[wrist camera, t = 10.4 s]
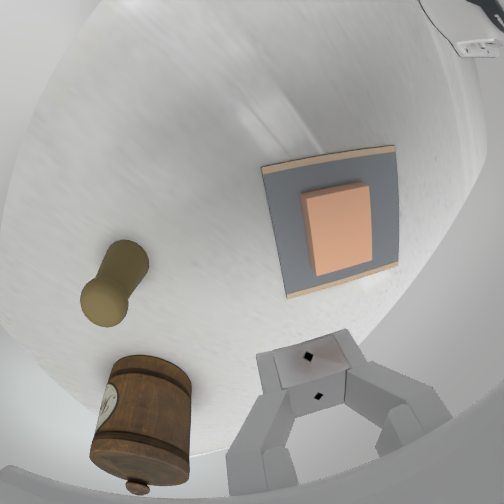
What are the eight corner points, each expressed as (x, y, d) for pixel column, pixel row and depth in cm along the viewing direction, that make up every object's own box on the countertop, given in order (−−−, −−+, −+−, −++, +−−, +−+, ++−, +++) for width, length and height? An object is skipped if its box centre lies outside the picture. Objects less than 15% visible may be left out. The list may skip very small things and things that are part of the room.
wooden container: (102, 350, 39) (66, 465, 19) (188, 356, 41) (185, 486, 21) (122, 401, 45) (106, 496, 25) (194, 406, 47) (197, 508, 27)
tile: (299, 193, 32) (359, 181, 32) (310, 267, 36) (363, 252, 36) (306, 198, 30) (368, 185, 30) (316, 276, 34) (372, 260, 34)
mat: (393, 145, 31) (395, 145, 30) (396, 264, 38) (398, 265, 38) (260, 167, 30) (261, 167, 30) (286, 297, 38) (287, 299, 38)
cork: (144, 237, 32) (117, 283, 22) (153, 280, 34) (134, 336, 25) (101, 242, 31) (63, 287, 21) (112, 283, 34) (84, 336, 24)
